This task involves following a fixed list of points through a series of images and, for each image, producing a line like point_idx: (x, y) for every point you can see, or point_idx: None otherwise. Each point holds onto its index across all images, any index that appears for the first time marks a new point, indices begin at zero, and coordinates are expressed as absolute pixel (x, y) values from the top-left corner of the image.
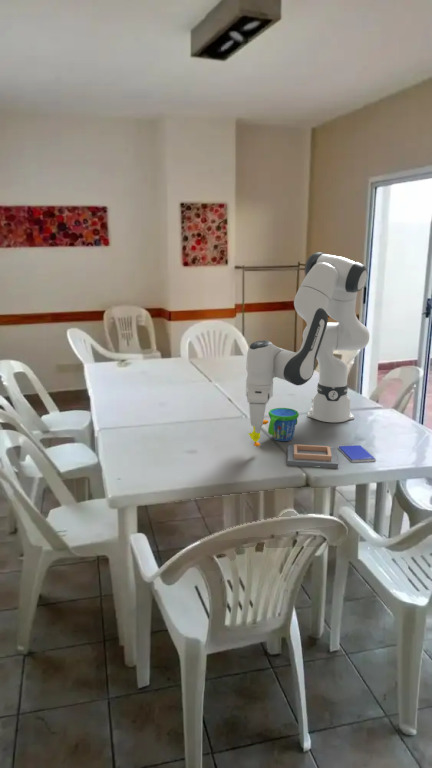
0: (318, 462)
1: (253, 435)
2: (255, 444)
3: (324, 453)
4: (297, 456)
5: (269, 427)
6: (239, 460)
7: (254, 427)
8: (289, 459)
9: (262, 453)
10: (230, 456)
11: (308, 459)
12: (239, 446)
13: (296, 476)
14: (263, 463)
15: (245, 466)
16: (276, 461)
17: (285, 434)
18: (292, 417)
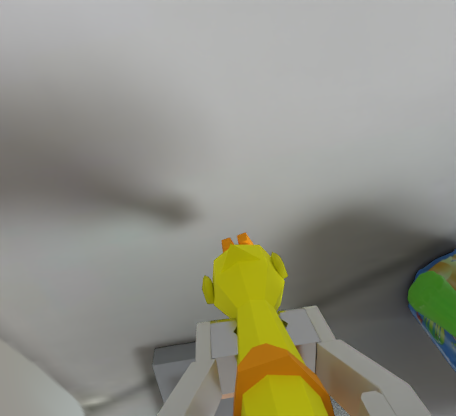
0: None
1: (215, 280)
2: (225, 250)
3: None
4: None
5: (453, 301)
6: (128, 158)
7: (237, 335)
8: (169, 368)
9: (256, 243)
10: (167, 93)
11: None
12: (334, 113)
13: (63, 388)
14: (137, 270)
15: (61, 205)
16: (180, 309)
17: (427, 327)
18: None
